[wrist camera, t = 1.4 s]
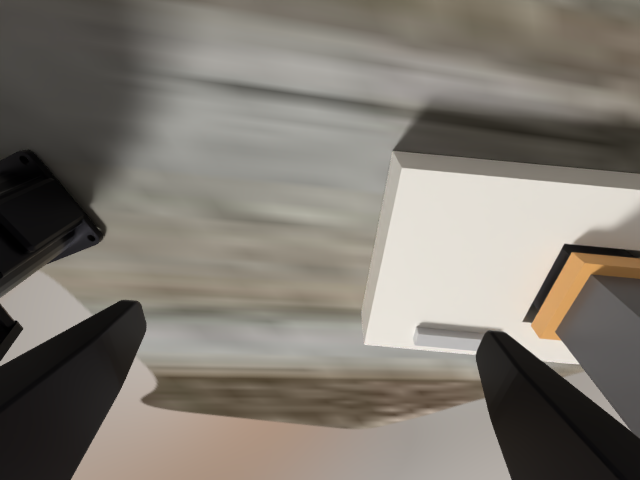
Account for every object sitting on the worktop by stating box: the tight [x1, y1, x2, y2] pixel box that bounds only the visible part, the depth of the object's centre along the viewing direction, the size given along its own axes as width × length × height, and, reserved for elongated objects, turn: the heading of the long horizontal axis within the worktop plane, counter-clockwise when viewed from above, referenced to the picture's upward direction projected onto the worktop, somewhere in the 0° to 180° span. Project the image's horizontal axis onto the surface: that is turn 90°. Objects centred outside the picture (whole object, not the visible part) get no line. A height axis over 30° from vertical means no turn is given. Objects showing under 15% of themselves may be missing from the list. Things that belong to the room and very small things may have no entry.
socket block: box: [361, 151, 640, 364], centre depth 19 cm, size 17×12×4 cm
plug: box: [531, 244, 640, 438], centre depth 15 cm, size 5×5×13 cm
